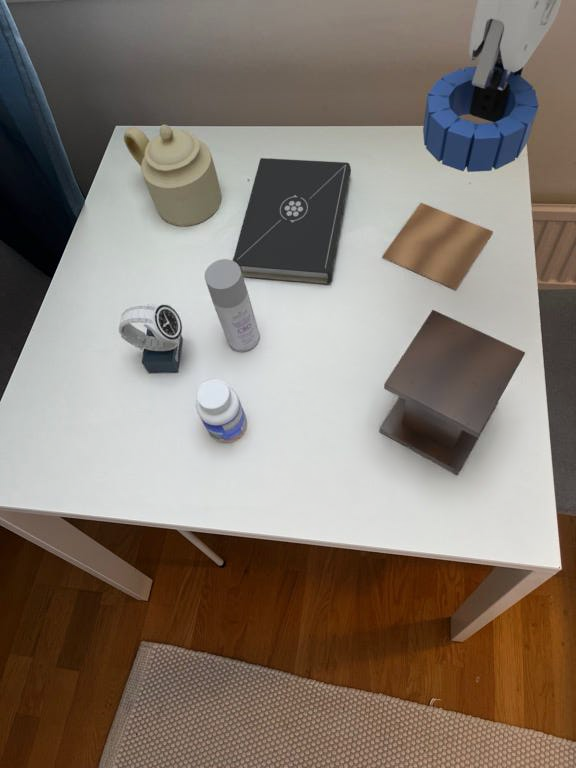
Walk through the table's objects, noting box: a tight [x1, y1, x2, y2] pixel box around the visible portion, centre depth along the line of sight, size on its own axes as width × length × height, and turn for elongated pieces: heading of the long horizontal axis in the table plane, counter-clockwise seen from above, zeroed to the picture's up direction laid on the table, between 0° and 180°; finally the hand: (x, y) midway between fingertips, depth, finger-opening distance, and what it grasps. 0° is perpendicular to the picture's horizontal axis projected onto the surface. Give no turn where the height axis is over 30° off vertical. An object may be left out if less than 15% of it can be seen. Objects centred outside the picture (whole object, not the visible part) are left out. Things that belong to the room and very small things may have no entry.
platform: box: [379, 309, 526, 476], centre depth 68 cm, size 11×11×14 cm
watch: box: [118, 303, 184, 374], centre depth 78 cm, size 6×8×11 cm
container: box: [204, 258, 261, 353], centre depth 76 cm, size 5×5×15 cm
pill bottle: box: [195, 378, 248, 443], centre depth 73 cm, size 5×5×10 cm
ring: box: [422, 65, 540, 173], centre depth 57 cm, size 10×10×4 cm
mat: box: [381, 202, 494, 291], centre depth 86 cm, size 12×12×1 cm
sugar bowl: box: [123, 124, 222, 227], centre depth 89 cm, size 15×11×15 cm
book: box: [232, 157, 352, 286], centre depth 90 cm, size 22×15×3 cm
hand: (491, 106), depth 59 cm, fingers closed on ring, 2 cm apart
